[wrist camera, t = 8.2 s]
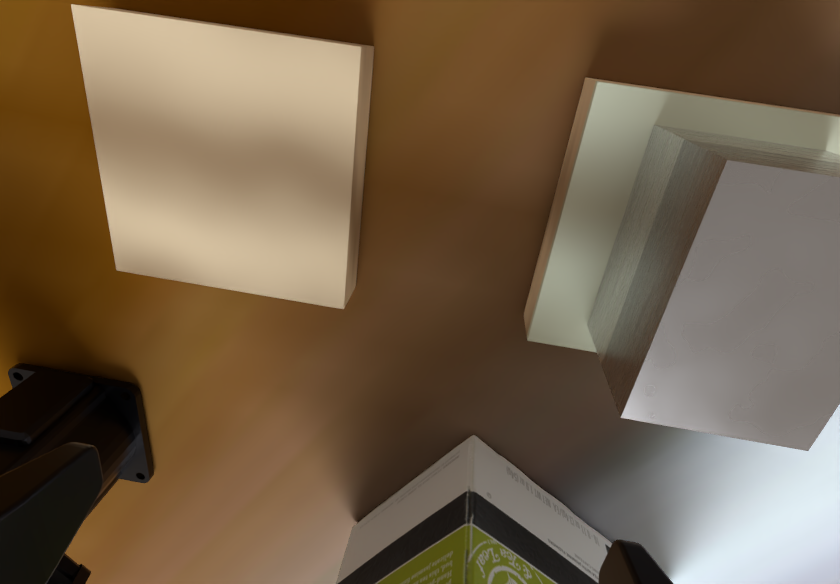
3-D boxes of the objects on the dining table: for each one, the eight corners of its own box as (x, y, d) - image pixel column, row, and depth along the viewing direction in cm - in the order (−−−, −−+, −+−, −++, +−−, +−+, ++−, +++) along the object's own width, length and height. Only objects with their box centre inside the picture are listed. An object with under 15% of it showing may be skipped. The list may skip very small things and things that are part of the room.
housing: (726, 348, 18) (808, 451, 13) (587, 324, 18) (621, 417, 13) (825, 150, 14) (976, 198, 10) (653, 124, 15) (727, 160, 10)
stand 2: (746, 352, 20) (772, 382, 18) (523, 314, 20) (527, 340, 18) (868, 119, 16) (917, 128, 14) (585, 77, 16) (597, 81, 14)
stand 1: (355, 286, 21) (343, 309, 19) (147, 251, 21) (116, 270, 19) (374, 46, 16) (361, 47, 15) (114, 8, 17) (71, 4, 15)
